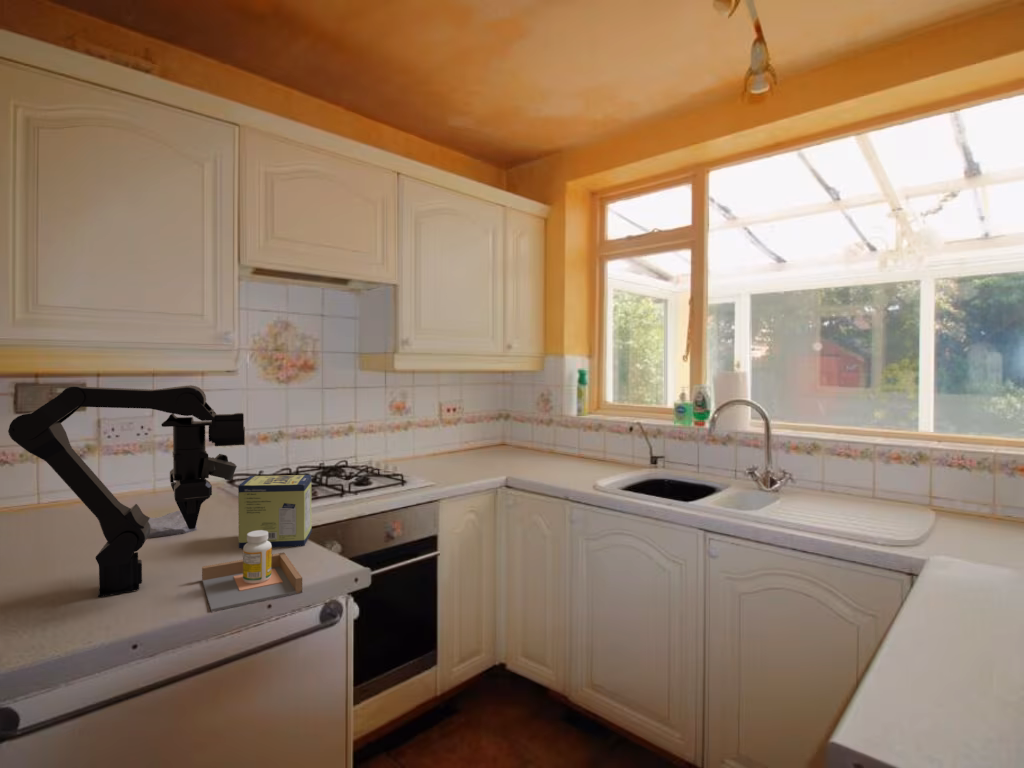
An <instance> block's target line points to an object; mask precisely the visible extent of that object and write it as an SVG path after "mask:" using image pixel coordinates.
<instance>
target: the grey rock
mask: <svg viewBox="0 0 1024 768" xmlns="http://www.w3.org/2000/svg"><path fill="white" fill-rule="evenodd" d="M148 522H149V524H150V527H151V528H150V533H149V535H148V537H147V539H148V538H149V539H151V538H158V537H159V538H160V537H166V536H176V535H183V534H188V533H192V532H194V531H197V530H198V526H197V523H196V527H195V528H194V529H189V528H188V526H187V524H186V522H185V520H184V518H183V515H182V513H181V511H180V510H177V511H174V512H169V513H167V514H165V515H162V516H159V517H150V519H149V521H148Z"/></svg>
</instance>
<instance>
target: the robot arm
mask: <svg viewBox="0 0 1024 768" xmlns="http://www.w3.org/2000/svg"><path fill="white" fill-rule="evenodd" d="M81 408H116V409H143V410H144V409H148V410H156V411H159V412H163V413H168V414H169V416H168V417H167V419H166V420H165V421H163V422H161V427H163V428H166V427H167V428H168V427H171V428H172V432H173V433H172V440H173V441H172V449H173V450H172V458H173V461H172V464H173V468H172V469H171V470H169V482H170V486H171V489H172V491H173V498H174V500H175V503H176V505H177V507H178V509H179V511H181V513H182V515H183V518H184V520H185V522H186V524H187V526H188V528H189V529H194V528H195V527H196V524H197V523H198V518H199V515H200V510H201V507H202V504H203V503H204V502H205V501H207V500H208V499H209V498H210V497H211V496H212V495H213V488H212V487H213V486H212V484H211V482H210V481H209V480H207V479H209V478H210V477H209V476H212V477H217V478H221V479H224V480H226V481H232V480H233V477H234V474H235V471H236V469H237V467H238V466H237V465H236V464H235V462H232V461H229V459H228V456H227V454H222V453H219V454H217V455H216V456H215V457H211V456H209V453H207V450H206V426H208V442H210V443H211V444H214V446H215V447H226V446H227V447H229V446H230V447H233V446H245V443H246V427H245V425H244V424H245V423H244V421H245V420H244V418H245V415H244V413H243V412H236V413H227V414H226V413H222V414H220V413H219V414H218V413H216V412H215V410H214V409H213V408H212V407H211V406H210V405H209V403H207V396H206V393H205V391H204V390H202V389H201V388H200V387H198V386H196V385H191V384H190V385H182V386H174V387H173V386H172V387H171V386H170V387H165V388H158V389H156V388H155V389H147V388H124V387H123V388H121V387H99V386H98V387H96V386H84V385H80V384H79V385H72V386H69V387H67V388H65V389H64V390H63V391H62V392H60V393H59V394H58V395H57V396H55V397H54V398H52V399H51V400H49V401H48V402H46V403H44V404H43V405H41V406H40V407H38V408H37V409H35V410H34V411H30V412H26V413H23V414H21V415H17V417H15V418H13V419H12V421H11V422H10V423H9V427H8V430H7V432H8V436H9V438H10V439H11V440H12V441H13V442H15V443H16V444H17V445H19V446H20V447H21V448H22V449H24V450H25V451H26V452H28V453H30V454H32V455H33V456H36V457H38V458H39V459H41V460H43V461H44V462H46V463H47V464H48V465H49V466H50V467H51V469H52V470H53V471H54V472H55V473H56V474H57V476H59V478H60V479H62V481H63V482H64V483H65V484H66V486H68V488H69V489H70V490H71V491H72V492H73V493H74V494H75V495H76V497H78V499H79V500H81V502H82V504H84V505H85V507H87V508H88V510H89V511H90V512H91V513H92V514H93V515H94V516H95V517H96V519H97V520H98V522H99V525H100V528H101V531H102V535H103V536H104V538H105V540H106V542H105V544H104V545H103V547H102V548H101V549H100V550H99V552H98V553H97V554H96V556H95V560H96V562H97V564H98V593H97V597H98V598H102V597H108V596H113V595H119V594H124V593H130V592H136V591H139V590H140V585H141V584H142V583H143V560H142V559H139V552H138V551H139V550H140V549H142V548H143V546H144V544H145V543H146V540H148V538H147V537H148V535H149V533H150V528H151V527H150V524H149V522H148V521H149V519H150V518H151V517H150V516H147V515H146V514H144V512H143V511H142V510H141V508H140V506H139V504H138V503H135V504H134V505H132V507H128V506H127V505H125V504H123V503H122V502H120V501H119V499H118V498H117V497H116V496H115V495H114V494H113V493H112V491H110V490H109V488H108V487H107V485H105V484H104V483H103V481H101V479H100V478H99V477H98V476H97V475H96V474H95V473H94V471H93V470H92V469H91V467H89V466H88V464H86V462H85V461H84V460H83V459H82V457H81V456H79V453H77V452H76V451H75V450H74V448H72V445H71V442H70V440H69V437H68V435H67V432H66V430H65V428H64V426H63V425H62V423H63V422H65V421H66V420H67V419H68V418H70V417H71V416H72V415H73V414H75V413H76V412H77V411H78V410H80V409H81ZM176 415H178V416H179V417H178V416H176ZM181 416H182V417H181ZM194 417H195V418H196V419H197V420H200V421H197V420H194Z"/></svg>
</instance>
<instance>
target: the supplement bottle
mask: <svg viewBox="0 0 1024 768" xmlns="http://www.w3.org/2000/svg"><path fill="white" fill-rule="evenodd" d="M267 540H268V532H267V531H264V530H257V531H252V532H249V533H248V534H247V542H248V543H246V544H245V545H244V547H243V548H242V560H243V581H244V582H246V583H249V584H256V583H262V582H265V581H267V580H268V579H270V577H271V557H272V552H273V551H272V550H273V549H272V548H273V547H272V545H271V543H270V542H269V541H267Z"/></svg>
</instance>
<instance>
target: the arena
mask: <svg viewBox="0 0 1024 768" xmlns="http://www.w3.org/2000/svg"><path fill="white" fill-rule="evenodd" d="M201 581H202V585H203V588H204V592H205V595H206V599H207V602H208V605H209V608H210V612H211V613H212V612H217V611H221V610H227V609H230V608H231V609H232V608H237V607H240V606H245V605H246V606H247V605H250V604H254V603H258V602H264V601H267V600H274V599H279V598H283V597H286V596H291V595H297V594H301V593H303V576H302V575H301V574H300V573H299V571H298V570H297V568H296V567H295V565H294V564H293V563H292V561H291V560H290V558H289V557H288V555H286V553H285V552H280V553H279V552H278V553H273V554H272V557H271V577H270V579H268V580H267V581H265V582H262V583H256V584H249V583H246V582H244V581H243V559H238V560H231V561H227V562H220V563H214V564H209V565H203V566H201Z"/></svg>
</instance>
